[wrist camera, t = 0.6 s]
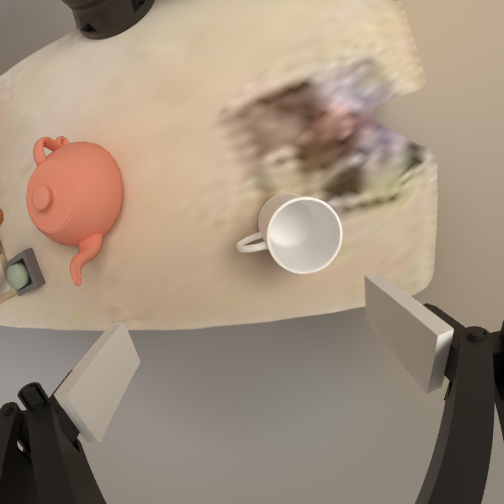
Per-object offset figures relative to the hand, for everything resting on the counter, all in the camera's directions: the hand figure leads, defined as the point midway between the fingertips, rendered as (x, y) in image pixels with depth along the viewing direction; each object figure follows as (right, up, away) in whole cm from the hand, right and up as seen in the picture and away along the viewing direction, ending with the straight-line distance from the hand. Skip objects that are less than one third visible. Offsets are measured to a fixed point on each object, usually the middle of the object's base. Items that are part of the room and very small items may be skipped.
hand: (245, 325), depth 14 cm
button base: (-42, 0, +26) cm, 50 cm away
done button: (-42, 0, +25) cm, 49 cm away
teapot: (-25, +12, +24) cm, 37 cm away
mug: (+4, +8, +26) cm, 28 cm away
